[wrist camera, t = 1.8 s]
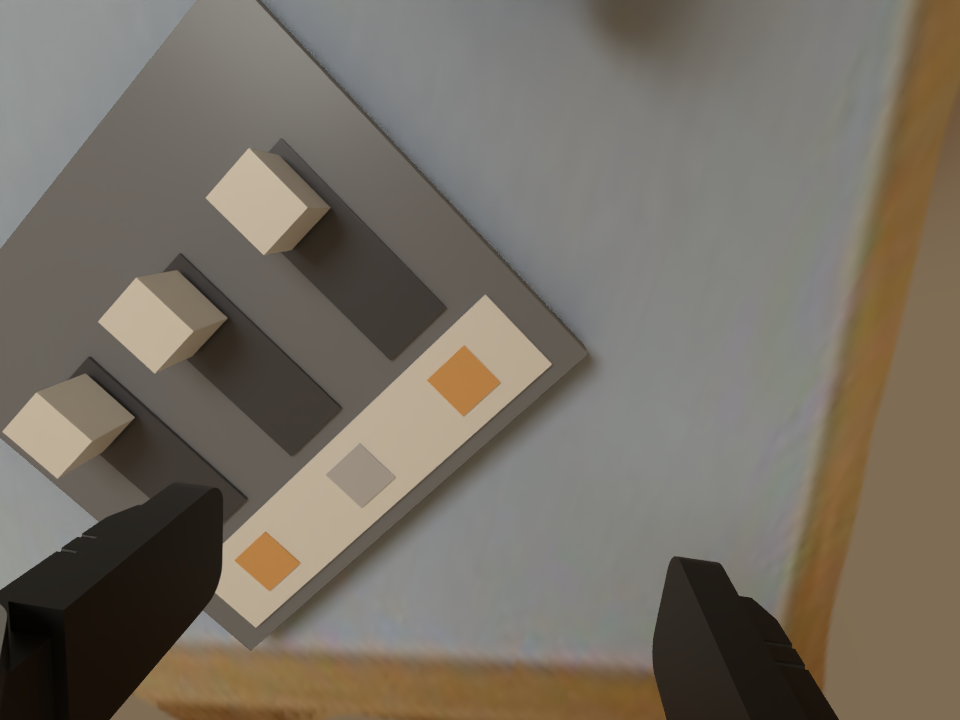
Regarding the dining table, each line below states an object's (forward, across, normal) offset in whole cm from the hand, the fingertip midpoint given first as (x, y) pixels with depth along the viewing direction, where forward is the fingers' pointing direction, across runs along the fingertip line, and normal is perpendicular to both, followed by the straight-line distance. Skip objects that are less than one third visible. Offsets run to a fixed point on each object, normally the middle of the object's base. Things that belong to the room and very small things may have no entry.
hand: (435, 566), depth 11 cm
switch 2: (+16, +14, 0) cm, 22 cm away
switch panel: (+19, +12, +2) cm, 22 cm away
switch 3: (+16, +10, -6) cm, 20 cm away
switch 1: (+16, +19, +5) cm, 25 cm away
